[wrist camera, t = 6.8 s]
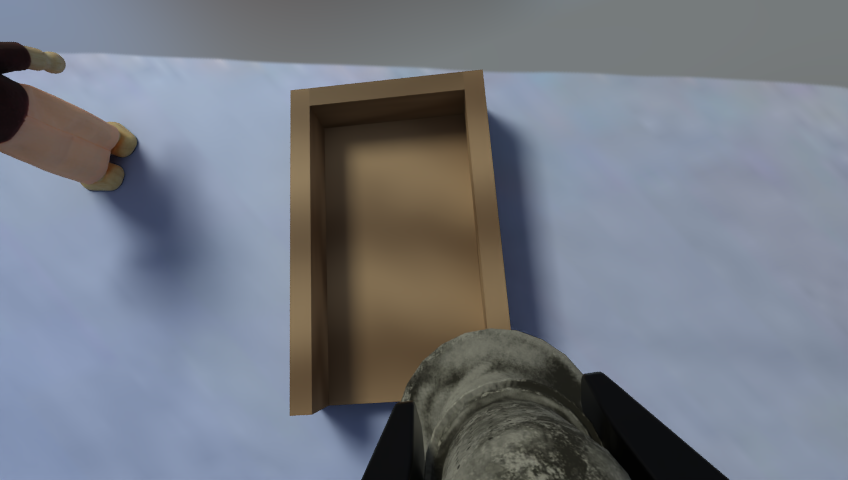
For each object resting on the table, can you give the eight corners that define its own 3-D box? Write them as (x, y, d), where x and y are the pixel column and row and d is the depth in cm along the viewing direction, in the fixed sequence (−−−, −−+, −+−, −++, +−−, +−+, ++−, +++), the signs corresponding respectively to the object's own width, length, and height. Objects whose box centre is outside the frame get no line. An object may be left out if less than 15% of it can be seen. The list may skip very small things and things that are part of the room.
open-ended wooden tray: (509, 392, 22) (518, 402, 18) (315, 403, 22) (289, 415, 19) (479, 105, 25) (482, 69, 22) (313, 122, 26) (290, 90, 23)
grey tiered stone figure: (381, 451, 16) (139, 769, 4) (453, 304, 17) (434, 209, 5) (533, 542, 14) (828, 1354, 3) (601, 379, 15) (1022, 482, 4)
